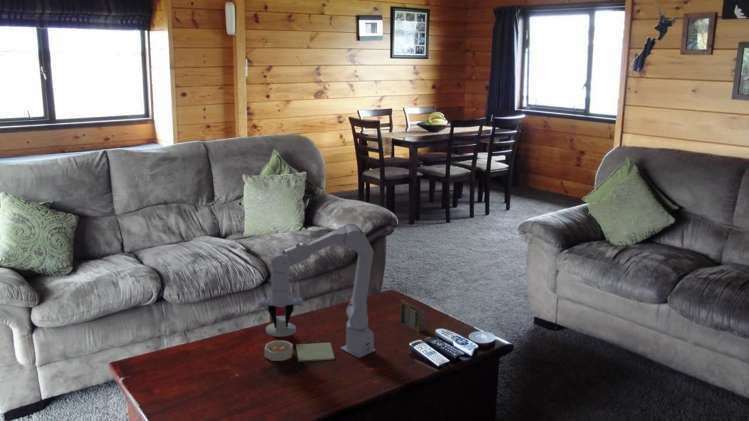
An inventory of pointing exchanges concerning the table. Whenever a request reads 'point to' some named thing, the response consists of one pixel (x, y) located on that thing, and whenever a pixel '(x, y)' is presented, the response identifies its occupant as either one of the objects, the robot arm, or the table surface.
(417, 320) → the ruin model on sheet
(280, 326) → the lid
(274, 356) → the bowl
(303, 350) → the mat
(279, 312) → the beer can
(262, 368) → the table surface
